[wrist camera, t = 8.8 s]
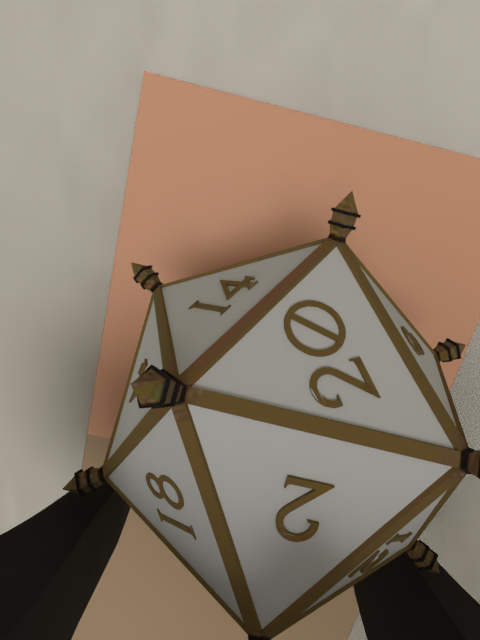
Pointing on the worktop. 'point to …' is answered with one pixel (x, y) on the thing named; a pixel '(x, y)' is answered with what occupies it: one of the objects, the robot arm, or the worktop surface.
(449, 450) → the game die
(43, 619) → the robot arm
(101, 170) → the worktop surface
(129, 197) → the tricolour rectangular mat
